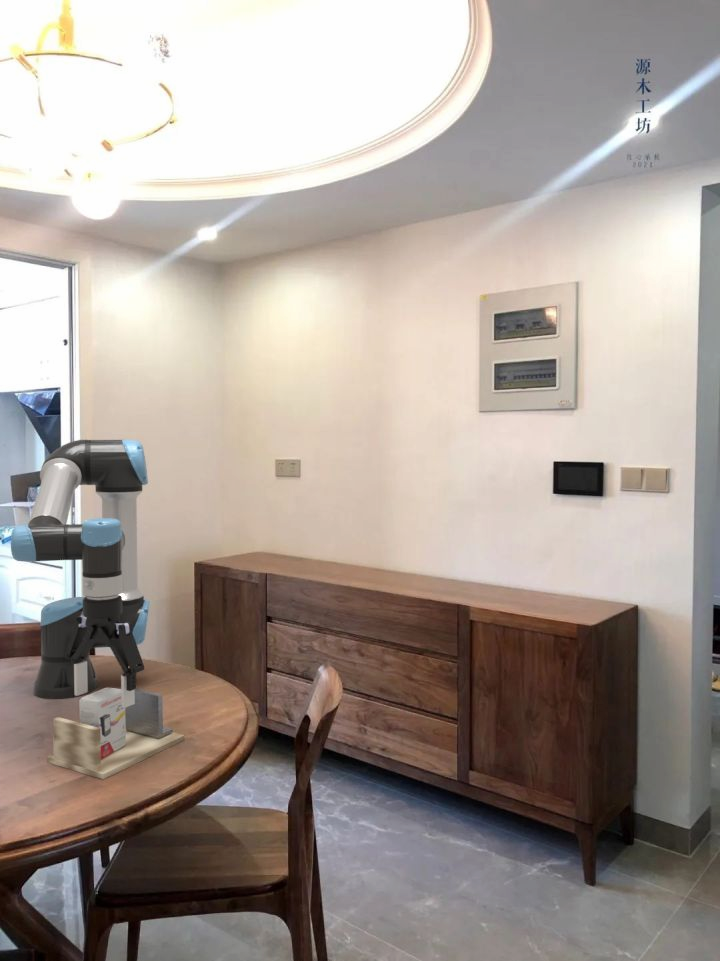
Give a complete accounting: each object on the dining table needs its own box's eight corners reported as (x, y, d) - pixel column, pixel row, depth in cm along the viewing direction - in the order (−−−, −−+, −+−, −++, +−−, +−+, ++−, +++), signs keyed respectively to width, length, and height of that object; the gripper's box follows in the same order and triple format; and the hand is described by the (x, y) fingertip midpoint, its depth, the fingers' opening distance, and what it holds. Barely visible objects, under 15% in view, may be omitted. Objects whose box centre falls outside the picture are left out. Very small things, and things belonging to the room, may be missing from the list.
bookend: (124, 729, 161) (124, 688, 161) (139, 723, 165) (139, 683, 165) (158, 738, 156) (158, 696, 156) (172, 731, 160) (172, 690, 160)
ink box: (99, 761, 145) (98, 702, 145) (78, 758, 147) (77, 699, 147) (127, 745, 154) (127, 688, 153) (107, 741, 155) (107, 686, 155)
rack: (46, 761, 148) (46, 717, 147) (130, 726, 167) (130, 686, 166) (102, 779, 140) (102, 732, 139) (184, 739, 159) (184, 698, 159)
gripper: (45, 592, 152) (47, 694, 153) (133, 606, 140) (134, 717, 141) (75, 586, 158) (77, 683, 160) (161, 599, 146) (163, 704, 147)
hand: (104, 699), depth 150 cm, fingers open, 13 cm apart
